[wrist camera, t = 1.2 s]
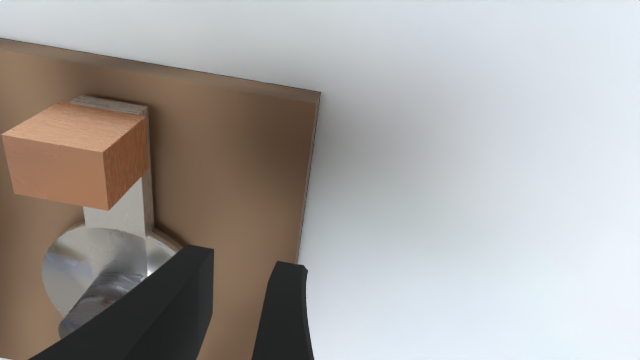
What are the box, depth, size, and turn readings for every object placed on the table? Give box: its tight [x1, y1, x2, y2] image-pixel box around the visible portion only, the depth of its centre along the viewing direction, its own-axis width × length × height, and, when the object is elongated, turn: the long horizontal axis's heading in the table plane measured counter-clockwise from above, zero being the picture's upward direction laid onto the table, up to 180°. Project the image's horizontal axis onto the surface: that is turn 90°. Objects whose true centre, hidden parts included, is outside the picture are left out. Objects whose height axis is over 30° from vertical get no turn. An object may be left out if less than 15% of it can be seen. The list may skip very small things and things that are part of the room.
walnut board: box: [0, 38, 321, 360], centre depth 20 cm, size 16×17×5 cm
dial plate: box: [1, 95, 183, 339], centre depth 18 cm, size 12×7×4 cm, turn 173°
